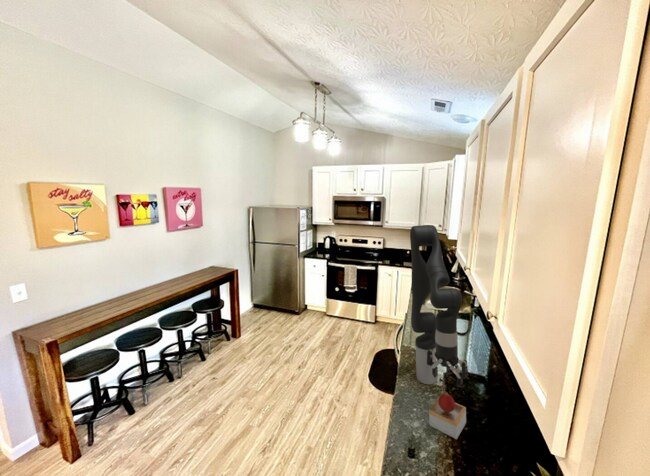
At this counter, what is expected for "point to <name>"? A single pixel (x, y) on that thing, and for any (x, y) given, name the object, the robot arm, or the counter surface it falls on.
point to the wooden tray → (448, 419)
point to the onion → (446, 402)
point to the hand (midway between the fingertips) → (446, 381)
